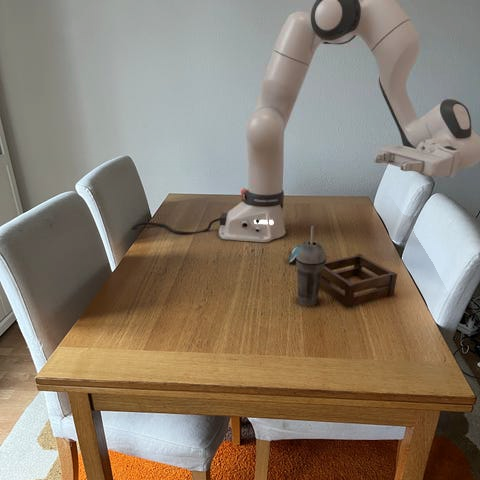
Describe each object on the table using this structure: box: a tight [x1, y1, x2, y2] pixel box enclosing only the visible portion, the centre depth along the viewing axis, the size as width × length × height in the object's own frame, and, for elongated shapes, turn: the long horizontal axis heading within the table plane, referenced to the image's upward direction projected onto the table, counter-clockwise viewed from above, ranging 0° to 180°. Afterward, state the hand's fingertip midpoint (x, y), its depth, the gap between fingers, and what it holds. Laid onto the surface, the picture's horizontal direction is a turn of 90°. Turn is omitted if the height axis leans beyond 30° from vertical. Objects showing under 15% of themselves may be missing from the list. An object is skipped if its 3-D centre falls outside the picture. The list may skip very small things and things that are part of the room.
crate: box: [319, 253, 398, 309], centre depth 123 cm, size 15×15×6 cm
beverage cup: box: [295, 225, 327, 307], centre depth 114 cm, size 7×7×20 cm
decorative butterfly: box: [288, 239, 306, 264], centre depth 140 cm, size 10×6×10 cm
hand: (389, 163), depth 117 cm, fingers open, 8 cm apart
